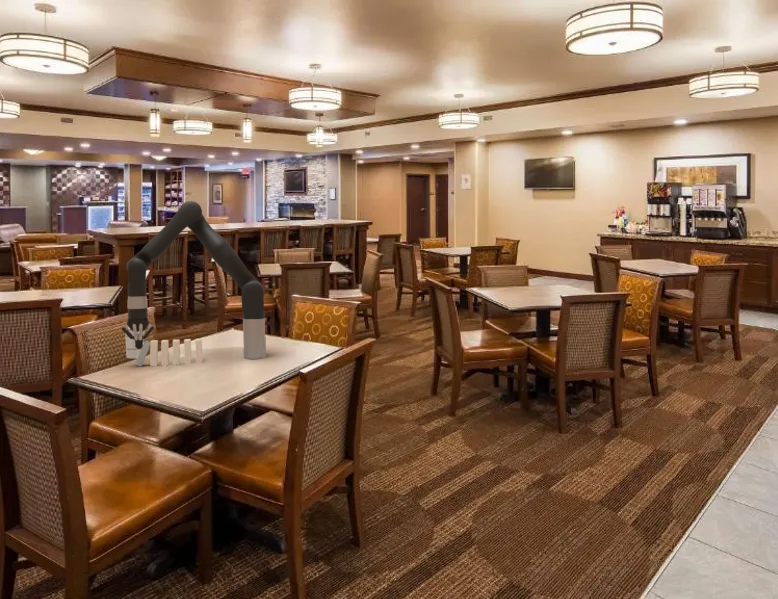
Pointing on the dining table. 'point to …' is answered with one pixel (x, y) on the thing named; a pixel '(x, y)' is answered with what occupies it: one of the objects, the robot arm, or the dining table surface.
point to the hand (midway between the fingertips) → (139, 348)
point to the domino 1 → (143, 353)
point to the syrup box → (132, 346)
